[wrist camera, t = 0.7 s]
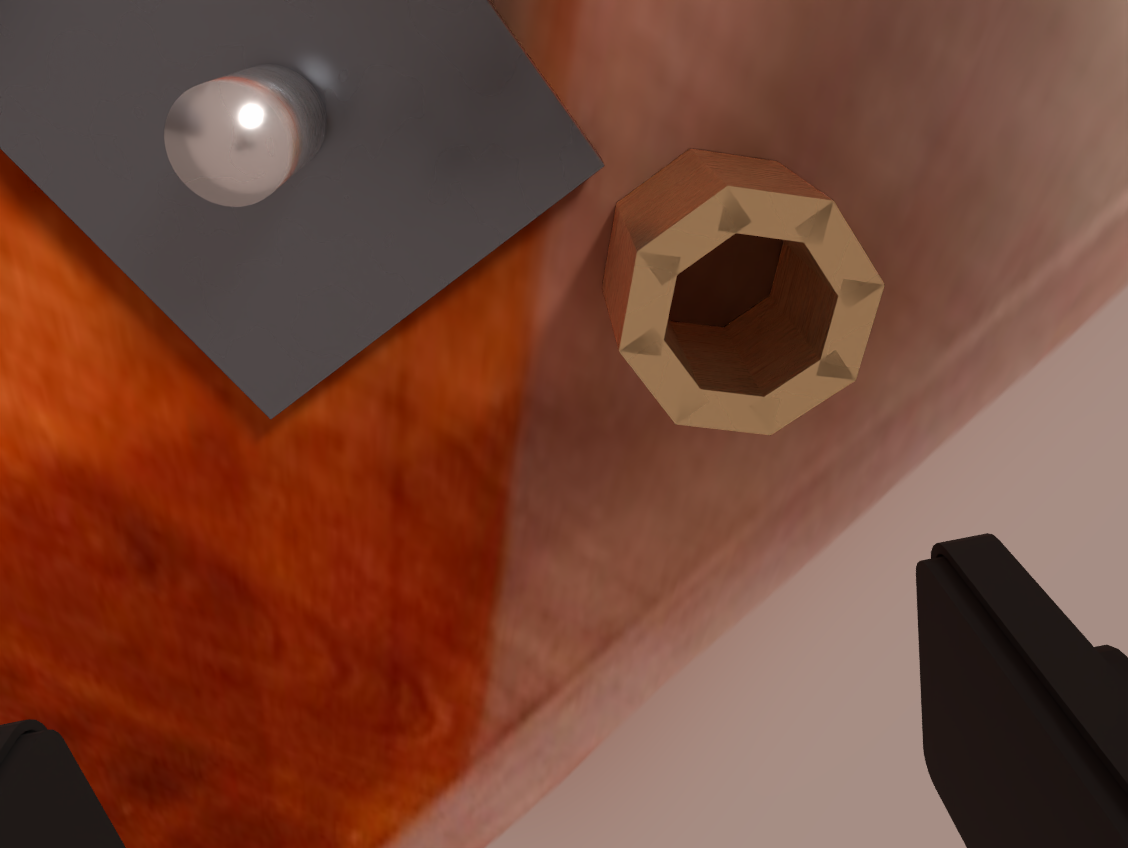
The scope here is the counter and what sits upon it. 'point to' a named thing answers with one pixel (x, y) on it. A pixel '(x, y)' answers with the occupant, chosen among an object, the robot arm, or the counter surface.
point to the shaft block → (285, 159)
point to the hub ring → (766, 331)
